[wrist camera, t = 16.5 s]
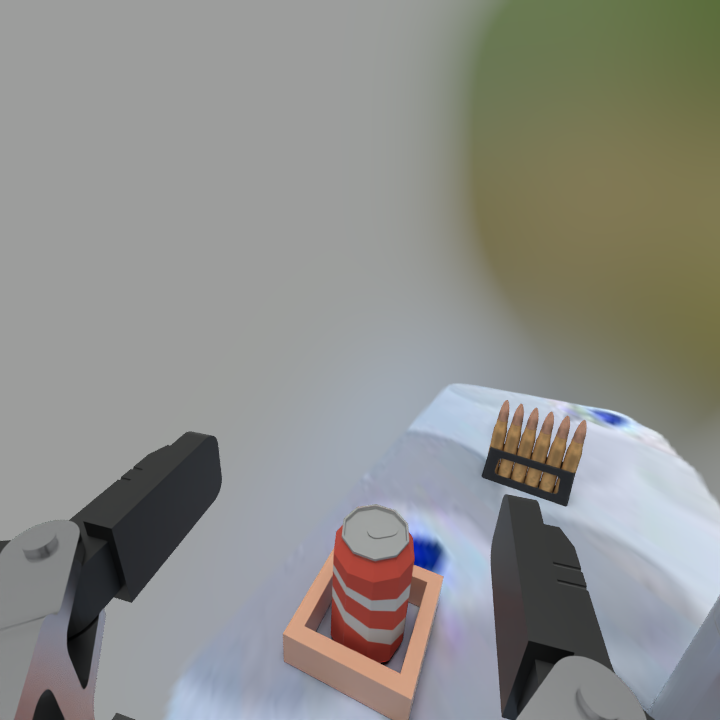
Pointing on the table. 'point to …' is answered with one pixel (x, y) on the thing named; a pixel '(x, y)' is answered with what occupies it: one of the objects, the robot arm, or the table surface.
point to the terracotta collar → (352, 668)
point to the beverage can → (371, 581)
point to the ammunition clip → (534, 455)
